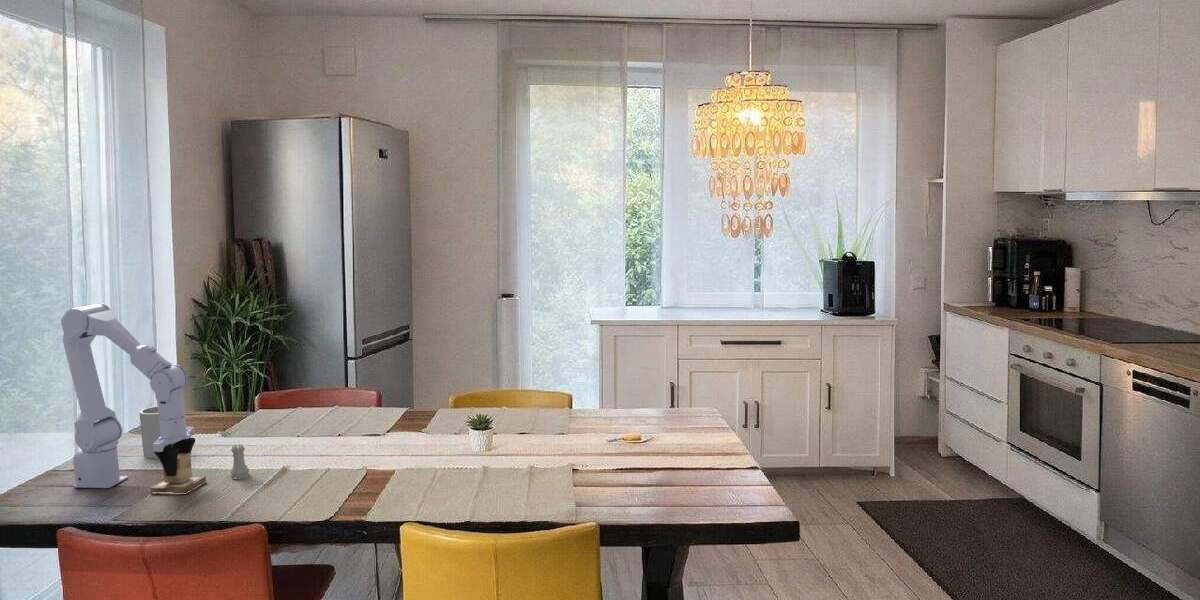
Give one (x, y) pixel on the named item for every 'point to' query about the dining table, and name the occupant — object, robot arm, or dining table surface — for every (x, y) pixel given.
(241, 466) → the rook chess piece
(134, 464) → the dining table surface
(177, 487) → the picture frame
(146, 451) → the cup
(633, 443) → the dining table surface
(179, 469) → the oak block
